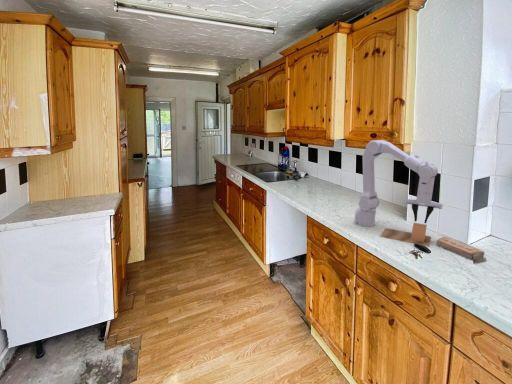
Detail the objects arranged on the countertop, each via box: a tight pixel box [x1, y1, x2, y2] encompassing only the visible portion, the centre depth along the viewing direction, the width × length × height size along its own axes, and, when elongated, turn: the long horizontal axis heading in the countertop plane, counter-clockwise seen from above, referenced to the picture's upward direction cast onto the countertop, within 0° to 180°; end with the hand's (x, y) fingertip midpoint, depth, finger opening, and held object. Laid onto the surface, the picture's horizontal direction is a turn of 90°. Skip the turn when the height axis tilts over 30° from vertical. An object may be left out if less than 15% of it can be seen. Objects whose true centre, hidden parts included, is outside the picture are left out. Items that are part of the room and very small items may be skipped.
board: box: [379, 227, 432, 248], centre depth 140 cm, size 20×14×1 cm
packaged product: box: [436, 236, 487, 264], centre depth 126 cm, size 18×5×10 cm
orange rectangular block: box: [411, 222, 428, 242], centre depth 137 cm, size 5×5×7 cm
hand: (420, 221), depth 136 cm, fingers open, 3 cm apart
